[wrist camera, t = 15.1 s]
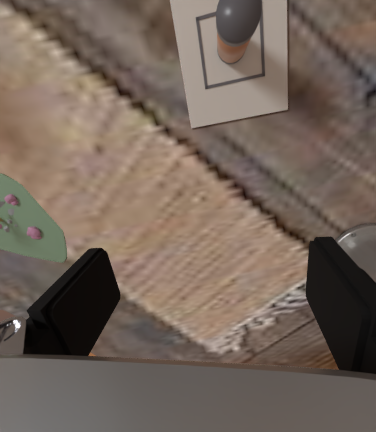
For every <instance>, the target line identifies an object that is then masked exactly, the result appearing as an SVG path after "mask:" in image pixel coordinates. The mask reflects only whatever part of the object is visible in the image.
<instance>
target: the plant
mask: <svg viewBox="0 0 376 432" xmlns="http://www.w3.org/2000/svg"><path fill="white" fill-rule="evenodd" d="M0 249H2V250H6V251H10V252H13V253H17V254H21V255H24V256H29V257H34V258H39V259H45V260H50V261H55V262H62V263H63V262H64V261H65V260H66V258H67V248H66V242H65V237H64V234H63V231H62V229H61V228H60V227H59V226H58V225H57V224H56V223H55V222H54V220H53V219H52V218H51V217H50V216H49V215H48V214H47V213H46V212H45V210H44V209H43V208H42V207H41V206H40V205H39V204H38V203H37V201H36V200H35V199H34V198H33V197H32V196H31V195H30V194H29V193H28V191H27V190H26V189H25V188H24V187H23V186H22V185H21V184H19V183H18V182H17V181H15V180H13V179H12V178H10V177H8V176H6V175H4V174H0Z"/></svg>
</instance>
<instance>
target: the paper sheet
mask: <svg viewBox="0 0 376 432" xmlns="http://www.w3.org/2000/svg"><path fill="white" fill-rule="evenodd" d="M218 2H219V0H170V3H171V9H172V15H173V21H174V27H175V33H176V39H177V45H178V51H179V57H180V63H181V69H182V75H183V81H184V87H185V93H186V99H187V105H188V111H189V117H190V123H191V128H196V127H201V126H206V125H211V124H216V123H221V122H227V121H232V120H237V119H242V118H247V117H252V116H258V115H263V114H268V113H273V112H278V111H283V110H288V68H287V0H261V4H262V13H261V18H260V21H259V24H258V26H257V28H256V30H255V33H254V34H253V36H252V37H251V39H250V42H249V44H248V46H247V48H246V51H245V53H244V55H243V57H242V58H241V59H240V60H239V61H238V62H237V63H235V64H226V63H224V62H222V61H221V59H220V58H219V56H218V52H217V29H216V9H217V5H218Z"/></svg>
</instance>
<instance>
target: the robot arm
mask: <svg viewBox="0 0 376 432" xmlns="http://www.w3.org/2000/svg"><path fill="white" fill-rule="evenodd" d="M306 297H307V301H308V303H309V305H310V307H311V309H312V311H313V314H314V316H315V318H316V320H317V322H318V325H319V327H320V329H321V331H322V333H323V335H324V338H325V340H326V342H327V344H328V346H329V349H330V351H331V353H332V355H333V357H334V359H335V362H336V364H337V366H338V368H339V370H333V369H320V368H306V367H292V366H276V365H258V364H239V363H221V362H203V361H183V360H163V359H142V358H121V357H97V356H88V355H89V353H90V352H91V350H92V348H93V346H94V344H95V343H96V341H97V339H98V337H99V336H100V334H101V332H102V330H103V329H104V327H105V325H106V323H107V321H108V320H109V318H110V316H111V314H112V313H113V311H114V309H115V307H116V306H117V304H118V302H119V300H120V291H119V288H118V285H117V282H116V279H115V276H114V272H113V269H112V266H111V263H110V260H109V257H108V254H107V252H106V251H104V250H103V249H102V248H91V249H88V250H87V251H86V252H85V253H84V254H83V255H82V256H81V257H80V258H79V259H78V260H77V261H76V262H75V263H74V264H73V265H72V266H71V267H70V268H69V269H68V270H67V271H66V272H65V273H64V274H63V275H62V276H61V277H60V278H59V279H58V280H57V281H56V282H55V283H54V284H53V285H52V286H51V287H50V288H49V289H48V290H47V291H46V292H45V293H44V294H43V295H42V296H41V297H40V298H39V299H38V300H37V301H36V302H35V303H34V304H33V305H32V306H31V307H30V308H29V309H28V310H27V312H28V314H29V316H30V317H29V318H28V319H27V320H26V319H25V318H24V317H21V316H17V317H12V318H9V319H6V320H4V321H2V322H0V432H376V224H374V223H372V224H364V225H360V226H357V227H354V228H352V229H350V230H348V231H346V232H344V233H343V234H342V235H341V236H339V237H338V238H337V239H336V241H335V240H334V239H333V238H332V237H316V238H315V239H314V241H310V244H309V256H308V269H307V281H306Z"/></svg>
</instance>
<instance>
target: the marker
mask: <svg viewBox="0 0 376 432" xmlns="http://www.w3.org/2000/svg"><path fill="white" fill-rule="evenodd" d="M261 13H262V4H261V0H219V2H218V5H217V9H216V29H217V52H218V56H219V58H220V59H221V61H222V62H224V63H226V64H235V63H237V62H238V61H239V60H240V59H241V58H242V57H243V55H244V53H245V51H246V48H247V46H248V44H249V42H250V39H251V37H252V36H253V34H254V33H255V30H256V28H257V26H258V24H259V21H260V18H261Z"/></svg>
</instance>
